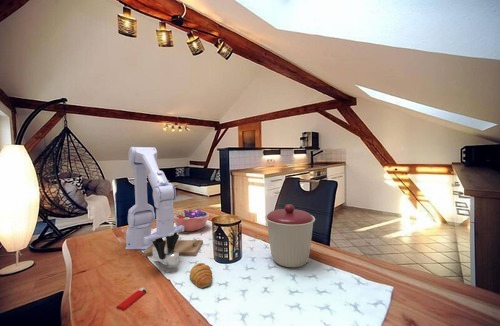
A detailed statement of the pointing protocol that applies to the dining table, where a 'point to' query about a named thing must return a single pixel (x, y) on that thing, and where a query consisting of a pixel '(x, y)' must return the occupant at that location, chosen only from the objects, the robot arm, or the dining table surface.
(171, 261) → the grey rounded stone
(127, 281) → the dining table surface
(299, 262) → the canister
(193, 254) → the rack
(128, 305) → the lighter
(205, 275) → the pastry
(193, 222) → the cell model
